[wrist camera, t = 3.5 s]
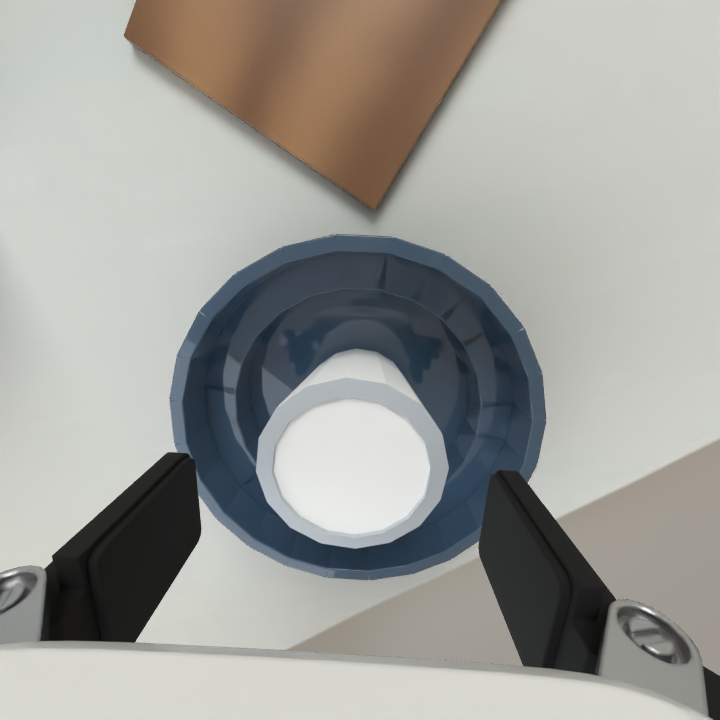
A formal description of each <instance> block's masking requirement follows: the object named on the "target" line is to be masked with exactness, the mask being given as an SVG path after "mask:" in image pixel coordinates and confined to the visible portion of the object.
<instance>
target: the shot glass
mask: <svg viewBox="0 0 720 720" xmlns="http://www.w3.org/2000/svg"><path fill="white" fill-rule="evenodd" d="M448 470H449V466H448V460H447V455H446V450H445V445H444V440H443V435H442V433H441V431H440V430H439V428H438V427H437V425H436V424H435V422H434V421H433V419H432V418H431V416H430V415H429V413H428V412H427V410H426V409H425V407H424V406H423V404H422V403H421V401H420V400H419V398H418V397H417V395H416V394H415V392H414V391H413V389H412V388H411V386H410V385H409V383H408V381H407V380H406V378H405V377H404V376H403V374H402V373H401V372H400V370H399V369H398V367H397V366H396V365H395V363H394V362H393V361H391V360H389V359H388V358H386V357H384V356H383V355H381V354H379V353H378V352H375V351H369V350H362V349H352V350H347V351H343V352H339V353H336V354H334V355H333V356H331V357H330V358H329V359H327V360H326V361H324V362H323V363H321V364H320V365H319V366H318V367H317V368H316V369H315V370H314V371H313V372H312V373H311V374H310V375H309V376H308V377H307V378H306V379H305V380H304V381H303V382H302V383H301V384H300V385H299V386H298V387H297V388H296V389H295V390H294V391H293V392H292V393H291V394H290V395H289V396H288V397H287V398H286V399H285V400H284V401H283V402H282V403H281V404H280V405H279V406H278V407H277V408H276V409H275V411H274V413H273V414H272V416H271V418H270V420H269V421H268V423H267V425H266V426H265V428H264V430H263V431H262V433H261V435H260V437H259V440H258V452H257V464H256V473H257V476H258V478H259V481H260V484H261V487H262V490H263V492H264V495H265V498H266V501H267V503H268V504H269V505H270V506H271V507H272V508H273V509H274V510H275V511H276V513H277V514H278V515H279V516H280V517H281V518H282V519H283V520H284V521H285V522H286V524H287V525H288V526H289V527H290V528H292V529H294V530H296V531H298V532H300V533H302V534H304V535H306V536H308V537H310V538H311V539H313V540H315V541H317V542H319V543H322V544H328V545H335V546H341V547H348V548H354V549H357V548H362V547H368V546H374V545H380V544H386V543H390V542H392V541H394V540H396V539H397V538H399V537H401V536H403V535H405V534H406V533H408V532H410V531H412V530H413V529H415V528H417V527H419V526H420V525H421V524H422V522H423V521H424V520H425V519H426V518H427V516H428V515H429V514H430V513H431V511H432V510H433V509H434V508H435V506H436V505H437V504H438V503H439V501H440V500H441V497H442V493H443V489H444V485H445V481H446V477H447V474H448Z"/></svg>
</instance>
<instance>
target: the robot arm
mask: <svg viewBox="0 0 720 720" xmlns="http://www.w3.org/2000/svg"><path fill="white" fill-rule="evenodd" d="M200 535H201V520H200V509H199V498H198V487H197V475H196V464H195V460H194V459H193V458H190V455H189V454H188V453H174V452H169V453H167V454H165V455H164V456H163V457H162V458H161V459H160V460H159V461H157V462H156V463H155V464H154V465H153V466H152V467H151V468H150V469H149V470H147V471H146V472H145V473H144V474H143V475H142V476H141V477H140V478H138V479H137V480H136V481H135V482H134V483H133V484H132V485H131V486H130V487H128V488H127V489H126V490H125V491H124V492H123V493H122V494H121V495H119V496H118V497H117V498H116V499H115V500H114V501H113V502H112V503H111V504H109V505H108V506H107V507H106V508H105V509H104V510H103V511H102V512H100V513H99V514H98V515H97V516H96V517H95V518H94V519H93V520H92V521H90V522H89V523H88V524H87V525H86V526H85V527H84V528H83V529H81V530H80V531H79V532H78V533H77V534H76V535H75V536H74V537H73V538H71V539H70V540H69V541H68V542H67V543H66V544H65V545H64V546H62V547H61V548H60V549H59V550H58V551H57V552H56V553H55V554H54V555H52V558H53V562H51V563H50V564H49V565H48V566H47V567H46V568H45V569H43V568H41V567H38V566H23V567H17V568H14V569H10V570H7V571H4V572H2V573H0V720H720V676H719V675H717V674H715V673H714V672H712V671H710V670H709V669H707V668H705V667H704V666H703V664H702V659H701V656H700V653H699V650H698V648H697V647H696V645H695V644H694V642H693V641H692V639H691V638H690V637H689V636H688V635H687V634H686V633H685V632H684V631H683V630H682V629H681V628H680V627H679V626H678V625H677V624H676V623H675V622H673V621H672V620H671V619H670V618H668V617H667V616H665V615H664V614H662V613H661V612H659V611H657V610H655V609H654V608H652V607H650V606H647V605H645V604H643V603H640V602H637V601H633V600H629V599H621V600H620V599H618V600H616V599H615V597H614V596H613V595H612V593H611V592H610V591H609V589H608V588H607V587H606V586H605V584H604V583H603V582H602V580H601V579H600V578H599V576H598V575H597V574H596V572H595V571H594V570H593V569H592V567H591V566H590V565H589V563H588V562H587V561H586V559H585V558H584V557H583V556H582V554H581V553H580V552H579V550H578V549H577V548H576V546H575V545H574V544H573V542H572V541H571V540H570V539H569V537H568V536H567V535H566V533H565V532H564V531H563V529H562V528H561V527H560V525H559V524H558V523H557V521H556V520H555V519H554V518H553V516H552V515H551V514H550V512H549V511H548V510H547V508H546V507H545V506H544V504H543V503H542V502H541V501H540V499H539V498H538V497H537V495H536V494H535V493H534V491H533V490H532V489H531V487H530V486H529V485H528V484H527V482H526V481H525V480H524V478H523V477H522V476H521V474H520V473H519V472H518V471H511V470H498V471H497V472H496V474H492V475H491V476H490V480H489V486H488V492H487V498H486V504H485V510H484V516H483V522H482V528H481V534H480V540H479V555H480V558H481V561H482V563H483V566H484V568H485V570H486V573H487V576H488V579H489V581H490V584H491V586H492V589H493V591H494V594H495V596H496V598H497V601H498V604H499V606H500V609H501V611H502V614H503V616H504V619H505V621H506V624H507V626H508V629H509V631H510V634H511V636H512V639H513V641H514V644H515V646H516V649H517V651H518V654H519V656H520V659H521V661H522V664H523V666H515V665H503V664H489V663H478V662H463V661H447V660H432V659H417V658H401V657H385V656H371V655H352V654H337V653H320V652H303V651H302V652H301V651H286V650H268V649H251V648H232V647H213V646H193V645H174V644H155V643H135V641H136V640H137V638H138V636H139V635H140V633H141V632H142V630H143V629H144V627H145V625H146V624H147V622H148V621H149V619H150V617H151V616H152V614H153V613H154V611H155V610H156V608H157V606H158V605H159V603H160V602H161V600H162V598H163V597H164V595H165V594H166V592H167V591H168V589H169V587H170V586H171V584H172V583H173V581H174V579H175V578H176V576H177V575H178V573H179V571H180V570H181V568H182V567H183V565H184V564H185V562H186V560H187V559H188V557H189V556H190V554H191V552H192V551H193V549H194V548H195V546H196V545H197V543H198V541H199V538H200Z"/></svg>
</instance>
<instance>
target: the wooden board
mask: <svg viewBox="0 0 720 720" xmlns="http://www.w3.org/2000/svg"><path fill="white" fill-rule="evenodd" d="M501 1H502V0H136V3H135V5H134V8H133V11H132V14H131V17H130V19H129V22H128V25H127V28H126V31H125V33H124V37H125V38H126V39H127V40H128V41H129V42H130V43H131V44H133V45H134V46H136V47H137V48H138V49H140V50H141V51H143V52H144V53H146V54H147V55H149V56H150V57H151V58H153V59H154V60H156V61H157V62H159V63H160V64H162V65H163V66H164V67H166V68H167V69H169V70H170V71H172V72H173V73H175V74H176V75H177V76H179V77H180V78H182V79H183V80H185V81H186V82H188V83H189V84H190V85H192V86H193V87H195V88H196V89H198V90H199V91H201V92H202V93H203V94H205V95H206V96H208V97H209V98H211V99H212V100H213V101H215V102H216V103H218V104H219V105H221V106H222V107H224V108H225V109H226V110H228V111H229V112H231V113H232V114H234V115H235V116H237V117H238V118H239V119H241V120H242V121H244V122H245V123H247V124H248V125H250V126H251V127H252V128H254V129H255V130H257V131H258V132H260V133H261V134H263V135H264V136H265V137H267V138H268V139H270V140H271V141H273V142H274V143H276V144H277V145H278V146H280V147H281V148H283V149H284V150H286V151H287V152H289V153H290V154H291V155H293V156H294V157H296V158H297V159H299V160H300V161H302V162H303V163H304V164H306V165H307V166H309V167H310V168H312V169H313V170H315V171H316V172H317V173H319V174H320V175H322V176H323V177H325V178H326V179H328V180H329V181H330V182H332V183H333V184H335V185H336V186H338V187H339V188H341V189H342V190H343V191H345V192H346V193H348V194H349V195H351V196H352V197H354V198H355V199H356V200H358V201H359V202H361V203H362V204H364V205H365V206H367V207H368V208H369V209H371V210H372V211H374V212H375V211H376V209H377V207H378V206H379V204H380V202H381V201H382V199H383V197H384V196H385V194H386V192H387V191H388V189H389V187H390V186H391V184H392V182H393V181H394V179H395V177H396V176H397V174H398V172H399V171H400V169H401V167H402V166H403V164H404V162H405V161H406V159H407V157H408V156H409V154H410V153H411V151H412V149H413V148H414V146H415V144H416V143H417V141H418V139H419V138H420V136H421V134H422V133H423V131H424V129H425V128H426V126H427V124H428V123H429V121H430V119H431V118H432V116H433V114H434V113H435V111H436V109H437V108H438V106H439V104H440V103H441V101H442V99H443V98H444V96H445V94H446V93H447V91H448V89H449V88H450V86H451V84H452V83H453V81H454V79H455V78H456V76H457V74H458V73H459V71H460V69H461V68H462V66H463V64H464V63H465V61H466V59H467V58H468V56H469V54H470V53H471V51H472V50H473V48H474V46H475V45H476V43H477V41H478V40H479V38H480V36H481V35H482V33H483V31H484V30H485V28H486V26H487V25H488V23H489V21H490V20H491V18H492V16H493V15H494V13H495V11H496V10H497V8H498V6H499V5H500V3H501Z"/></svg>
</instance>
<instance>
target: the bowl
mask: <svg viewBox="0 0 720 720" xmlns="http://www.w3.org/2000/svg"><path fill="white" fill-rule="evenodd" d="M352 349H362V350H369V351H375V352H378V353H379V354H381V355H383V356H384V357H386V358H388V359H389V360H391V361H393V362H394V363H395V365H396V366H397V367H398V369H399V370H400V372H401V373H402V374H403V376H404V377H405V378H406V380H407V381H408V383H409V385H410V386H411V388H412V389H413V391H414V392H415V394H416V395H417V397H418V398H419V400H420V401H421V403H422V404H423V406H424V407H425V409H426V410H427V412H428V413H429V415H430V416H431V418H432V419H433V421H434V422H435V424H436V425H437V427H438V428H439V430H440V431H441V433H442V435H443V440H444V445H445V450H446V455H447V460H448V466H449V470H448V474H447V477H446V481H445V485H444V489H443V493H442V497H441V500H440V501H439V503H438V504H437V505H436V506H435V508H434V509H433V510H432V511H431V513H430V514H429V515H428V516H427V518H426V519H425V520H424V521H423V522H422V524H421V525H420V526H419V527H417V528H415V529H413V530H412V531H410V532H408V533H406V534H405V535H403V536H401V537H399V538H397V539H396V540H394V541H392V542H390V543H386V544H380V545H374V546H368V547H362V548H357V549H354V548H348V547H341V546H335V545H328V544H322V543H319V542H317V541H315V540H313V539H311V538H310V537H308V536H306V535H304V534H302V533H300V532H298V531H296V530H294V529H292V528H290V527H289V526H288V525H287V524H286V522H285V521H284V520H283V519H282V518H281V517H280V516H279V515H278V514H277V513H276V511H275V510H274V509H273V508H272V507H271V506H270V505H269V504H268V503H267V501H266V498H265V495H264V492H263V490H262V487H261V484H260V481H259V478H258V476H257V473H256V464H257V452H258V440H259V437H260V435H261V433H262V431H263V430H264V428H265V426H266V425H267V423H268V421H269V420H270V418H271V416H272V414H273V413H274V411H275V409H276V408H277V407H278V406H279V405H280V404H281V403H282V402H283V401H284V400H285V399H286V398H287V397H288V396H289V395H290V394H291V393H292V392H293V391H294V390H295V389H296V388H297V387H298V386H299V385H300V384H301V383H302V382H303V381H304V380H305V379H306V378H307V377H308V376H309V375H310V374H311V373H312V372H313V371H314V370H315V369H316V368H317V367H318V366H319V365H320V364H321V363H323V362H324V361H326V360H327V359H329V358H330V357H331V356H333V355H334V354H336V353H339V352H343V351H347V350H352ZM169 399H170V409H171V418H172V427H173V436H174V443H175V447H176V449H177V452H178V453H188V454H189V455H190V458H193V459H194V460H195V464H196V475H197V487H198V495H199V496H200V498H201V499H202V500H203V502H204V503H205V504H206V506H207V507H208V509H209V510H210V511H211V513H212V514H213V515H214V517H215V518H217V520H218V521H219V522H220V523H222V524H223V525H224V526H225V527H226V528H227V529H229V530H230V531H231V532H232V533H233V534H234V535H236V536H237V537H238V538H239V539H240V540H242V541H243V542H244V543H245V544H246V545H248V546H249V547H251V548H253V549H254V550H256V551H258V552H260V553H262V554H264V555H266V556H268V557H270V558H272V559H273V560H275V561H277V562H279V563H281V564H283V565H285V566H286V565H287V567H291V568H295V569H298V570H302V571H305V572H309V573H312V574H316V575H320V576H323V577H328V578H342V579H357V580H375V579H382V578H389V577H395V576H402V575H409V574H414V573H417V572H419V571H422V570H425V569H427V568H430V567H433V566H435V565H438V564H441V563H443V562H446V561H449V560H451V559H452V558H454V557H455V556H457V555H458V554H460V553H461V552H463V551H465V550H466V549H468V548H469V547H471V546H472V545H474V544H475V543H477V542H478V541H479V540H480V534H481V528H482V522H483V516H484V510H485V504H486V498H487V492H488V486H489V480H490V476H491V475H492V474H496V472H497V471H498V470H511V471H518V472H519V473H520V474H521V476H522V477H523V478H524V480H525V481H526V482H527V483H528V481H529V479H530V477H531V475H532V474H533V472H534V470H535V468H536V466H537V465H536V464H537V463H538V458H539V453H540V448H541V444H542V439H543V434H544V429H545V425H546V411H545V399H544V387H543V375H542V371H541V369H540V366H539V363H538V361H537V358H536V356H535V353H534V351H533V348H532V346H531V343H530V341H529V338H528V336H527V333H526V331H525V329H524V328H523V325H522V324H521V323H520V321H519V320H518V319H517V318H516V316H515V315H514V314H513V313H512V311H511V310H510V309H509V308H508V306H507V305H506V304H505V303H504V301H503V300H502V299H501V298H500V296H499V295H498V294H497V293H496V291H495V290H494V289H493V288H492V287H491V286H490V285H489V284H488V283H486V282H485V281H483V280H482V279H480V278H479V277H478V276H476V275H475V274H473V273H472V272H470V271H469V270H467V269H466V268H465V267H463V266H462V265H460V264H459V263H457V262H456V261H455V260H453V259H452V258H450V257H449V256H446V255H445V254H443V253H440V252H437V251H434V250H431V249H428V248H425V247H422V246H419V245H416V244H413V243H410V242H407V241H404V240H401V239H398V238H395V237H393V238H392V237H390V236H368V235H347V234H336V235H330V236H326V237H321V238H317V239H313V240H309V241H304V242H300V243H296V244H292V245H288V246H283V247H282V248H279V249H277V250H275V251H273V252H272V253H270V254H268V255H266V256H265V257H263V258H261V259H259V260H258V261H256V262H254V263H252V264H251V265H249V266H247V267H245V268H244V269H242V270H240V271H238V272H237V273H236V274H234V275H233V276H232V277H231V278H230V279H229V280H228V281H227V282H226V283H225V284H224V285H223V286H222V287H221V288H220V289H219V290H218V292H217V293H216V294H215V295H214V296H213V297H212V298H211V299H210V300H209V301H208V302H207V303H206V304H205V305H204V306H203V307H202V308H201V310H200V311H199V312H198V314H197V316H196V318H195V320H194V322H193V324H192V326H191V328H190V330H189V332H188V334H187V336H186V338H185V340H184V342H183V344H182V346H181V348H180V350H179V352H178V354H177V358H176V364H175V370H174V375H173V381H172V387H171V393H170V398H169Z"/></svg>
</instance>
